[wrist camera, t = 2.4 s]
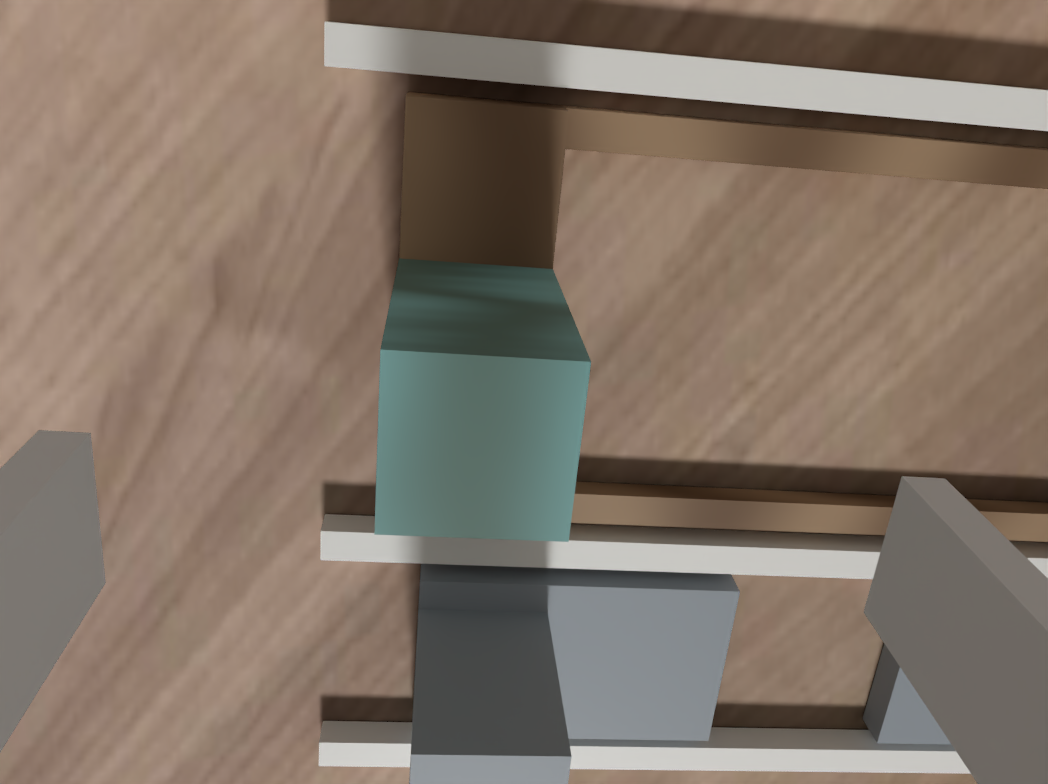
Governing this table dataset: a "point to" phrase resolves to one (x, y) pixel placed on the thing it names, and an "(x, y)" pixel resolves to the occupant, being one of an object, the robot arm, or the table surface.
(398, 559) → the lane frame
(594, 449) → the table surface
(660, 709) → the grey l-shaped sled
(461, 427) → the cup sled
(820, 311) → the table surface
